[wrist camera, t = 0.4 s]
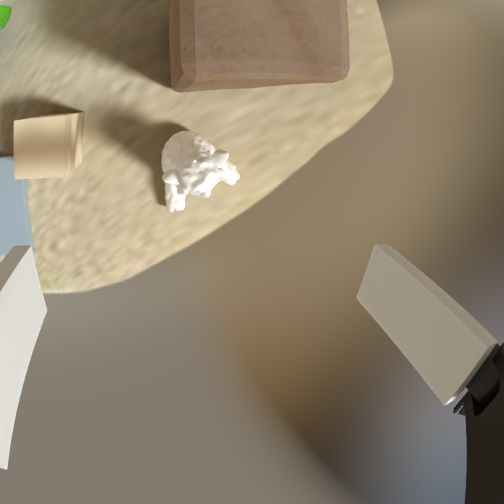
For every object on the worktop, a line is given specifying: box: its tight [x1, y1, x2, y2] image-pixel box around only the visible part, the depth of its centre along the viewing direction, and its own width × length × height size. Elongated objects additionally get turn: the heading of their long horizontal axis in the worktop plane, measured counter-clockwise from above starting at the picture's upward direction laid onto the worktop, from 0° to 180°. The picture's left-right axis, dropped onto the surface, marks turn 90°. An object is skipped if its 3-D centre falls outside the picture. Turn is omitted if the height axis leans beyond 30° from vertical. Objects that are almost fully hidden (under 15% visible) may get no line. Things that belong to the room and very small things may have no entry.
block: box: [169, 0, 350, 93], centre depth 20 cm, size 10×10×20 cm
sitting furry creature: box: [161, 130, 240, 212], centre depth 29 cm, size 10×9×12 cm
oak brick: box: [14, 112, 84, 180], centre depth 25 cm, size 6×6×7 cm
